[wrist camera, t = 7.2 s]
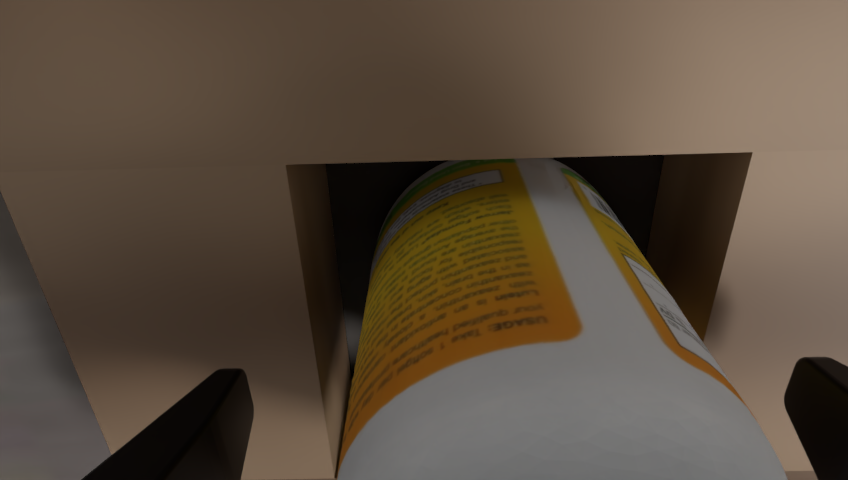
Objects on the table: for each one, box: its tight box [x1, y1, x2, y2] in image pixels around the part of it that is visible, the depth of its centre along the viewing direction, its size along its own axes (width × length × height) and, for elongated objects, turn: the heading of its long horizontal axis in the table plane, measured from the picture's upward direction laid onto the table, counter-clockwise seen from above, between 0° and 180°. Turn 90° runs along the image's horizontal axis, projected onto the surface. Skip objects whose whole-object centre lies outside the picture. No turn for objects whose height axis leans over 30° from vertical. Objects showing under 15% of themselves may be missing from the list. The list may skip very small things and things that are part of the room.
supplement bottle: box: [337, 158, 788, 480], centre depth 8 cm, size 5×5×10 cm
